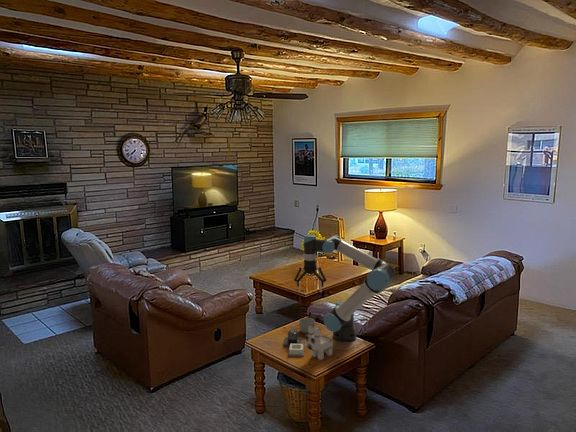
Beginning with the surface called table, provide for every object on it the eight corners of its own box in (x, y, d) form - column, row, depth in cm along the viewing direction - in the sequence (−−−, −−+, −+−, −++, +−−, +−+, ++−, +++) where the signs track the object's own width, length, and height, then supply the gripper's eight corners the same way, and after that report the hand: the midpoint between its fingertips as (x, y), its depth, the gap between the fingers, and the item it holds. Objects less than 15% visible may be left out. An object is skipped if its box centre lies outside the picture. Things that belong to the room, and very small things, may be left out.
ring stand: (302, 339, 276) (301, 322, 275) (301, 347, 266) (300, 329, 264) (285, 338, 277) (285, 322, 276) (283, 346, 267) (283, 329, 265)
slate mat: (304, 348, 263) (304, 347, 263) (303, 356, 254) (303, 355, 253) (289, 348, 264) (289, 347, 264) (288, 355, 254) (288, 355, 254)
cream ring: (303, 348, 262) (303, 343, 262) (302, 354, 254) (302, 349, 254) (290, 348, 263) (290, 343, 263) (289, 354, 255) (289, 349, 255)
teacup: (313, 335, 282) (313, 324, 280) (297, 334, 284) (297, 323, 283) (316, 327, 295) (316, 316, 294) (300, 326, 297) (300, 315, 296)
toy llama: (335, 353, 256) (335, 322, 253) (314, 363, 245) (314, 330, 242) (326, 349, 262) (325, 318, 259) (305, 359, 250) (305, 326, 247)
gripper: (329, 258, 272) (329, 290, 275) (290, 257, 274) (291, 289, 277) (329, 261, 264) (329, 293, 268) (289, 260, 267) (290, 293, 270)
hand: (310, 291), depth 272 cm, fingers open, 13 cm apart
